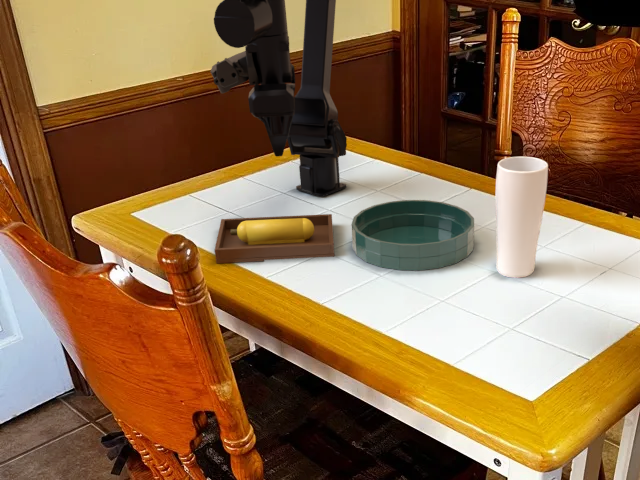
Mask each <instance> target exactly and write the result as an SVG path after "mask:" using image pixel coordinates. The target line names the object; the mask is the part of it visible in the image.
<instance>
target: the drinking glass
mask: <svg viewBox="0 0 640 480" xmlns="http://www.w3.org/2000/svg"><path fill="white" fill-rule="evenodd" d="M496 166H497V167H496V175H495V191H494V193H495V194H494V195H495V196H494V198H495V199H494V200H495V201H494V202H495V231H496V233H495V234H496V235H495V237H496V265H495V266H496V268H495V269H496V271H497V272H498V273H499V275H501V276H503V277H507V278H513V279H520V278H526V277H529V276H530V275H532V274H533V273H534V271H535V267H536V256H537V251H538V250H537V249H538V243H539V238H540V232H541V226H542V221H543V215H544V210H545V205H546V199H547V190H548V180H549V179H548V178H549V163H548V162H547V161H545V160H544V159H541V158H538V157H533V156H523V155H522V156H511V157H505V158H502V159H501V160H499V161H498V162H497V165H496Z"/></svg>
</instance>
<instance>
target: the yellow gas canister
mask: <svg viewBox="0 0 640 480" xmlns="http://www.w3.org/2000/svg"><path fill="white" fill-rule="evenodd" d="M313 234H314V225H313V223H312V222H311V221H310V220H309V219H306V218H293V219H270V220H248V221H243V222H241V223H240V224H239V225H238V227H237V229H231V235H238V237H239V238H240V239H241V240H242V241H243V242H246V243H248V244H249V245H256V244H277V243H298V242H305V240H307V239H309V238H311V237H312V235H313Z"/></svg>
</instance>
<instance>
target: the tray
mask: <svg viewBox="0 0 640 480" xmlns="http://www.w3.org/2000/svg"><path fill="white" fill-rule="evenodd" d="M293 218H306V219H309V220H310V221H311V222H312V223H313V225H314V234H313V235H312V237H311V238H309V239H307V240H305V242H298V243H277V244H256V245H249V244H248V243H246V242H243V241H242V240H241V239H240V238H239V237H238V235H231V229H237V227H238V225H239V224H240V223H241V222H243V221H248V220H270V219H293ZM334 242H335V241H334V227H333V214H332V213H326V214H325V213H324V214H323V213H322V214H303V215H282V216H281V215H279V216H260V217H257V216H256V217H239V218H238V217H237V218H221V220H220V224H219V228H218V232H217V238H216V242H215V245H214V246H215V247H214V255H215V261H216V264H231V263H232V264H233V263H251V262H253V263H254V262H265V261H270V260H289V259H290V260H291V259H292V260H293V259H310V258H311V259H312V258H313V259H314V258H334V257H335V243H334Z"/></svg>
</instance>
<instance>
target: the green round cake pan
mask: <svg viewBox="0 0 640 480" xmlns="http://www.w3.org/2000/svg"><path fill="white" fill-rule="evenodd" d="M350 226H351V240H352V250H353V251H354V253H355V256H356V257H357V258H360V259H361V260H362V261H364V262H365V263H367V264H371V265H374V266H376V267H379V268H385V269H392V270H396V271H426V270H434V269H441V268H444V267H448V266H452V265H455V264H457V263H459V262H461V261H463V260H465V259H466V258H468V257H469V255H470V254H471V253H472V252H473V251H474V237H475V218H474V216H473V215H472V214H471V213H470V212H469V211H468V210H465V209H464V208H462V207H460V206H457V205H455V204H451V203H447V202H443V201H435V200H428V199H403V200H393V201H392V200H391V201H386V202H382V203H378V204H374V205H371V206H369V207H367V208H365V209H361V210H360V211H359V212H358V213H357V214H355V215H354V216H353V219H352V221H351V225H350Z"/></svg>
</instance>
